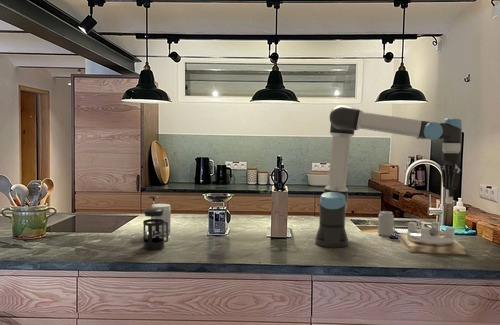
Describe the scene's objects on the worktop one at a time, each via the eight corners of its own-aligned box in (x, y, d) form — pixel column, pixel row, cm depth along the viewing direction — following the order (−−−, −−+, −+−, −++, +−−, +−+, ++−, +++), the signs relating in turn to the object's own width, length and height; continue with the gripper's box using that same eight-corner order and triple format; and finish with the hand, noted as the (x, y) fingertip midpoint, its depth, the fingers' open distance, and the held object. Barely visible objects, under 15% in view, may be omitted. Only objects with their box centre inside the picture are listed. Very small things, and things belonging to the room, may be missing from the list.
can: (394, 237, 214) (394, 213, 213) (378, 236, 215) (379, 212, 214) (392, 233, 221) (393, 210, 220) (377, 232, 223) (377, 210, 222)
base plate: (408, 251, 189) (408, 245, 189) (398, 238, 211) (398, 233, 210) (465, 254, 186) (466, 248, 185) (449, 241, 207) (450, 235, 207)
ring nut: (412, 244, 189) (413, 229, 189) (403, 234, 209) (403, 219, 209) (460, 247, 187) (461, 231, 186) (446, 235, 206) (447, 221, 206)
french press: (138, 249, 186) (137, 197, 185) (146, 244, 196) (146, 194, 194) (163, 251, 185) (163, 198, 183) (171, 245, 194) (171, 195, 192)
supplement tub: (152, 237, 208) (152, 207, 207) (149, 232, 217) (149, 204, 216) (172, 235, 212) (172, 206, 211) (168, 231, 221) (168, 202, 220)
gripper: (467, 153, 190) (465, 205, 192) (450, 151, 203) (448, 201, 205) (451, 153, 189) (449, 206, 191) (435, 151, 202) (433, 201, 204)
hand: (449, 203), depth 198 cm, fingers closed
